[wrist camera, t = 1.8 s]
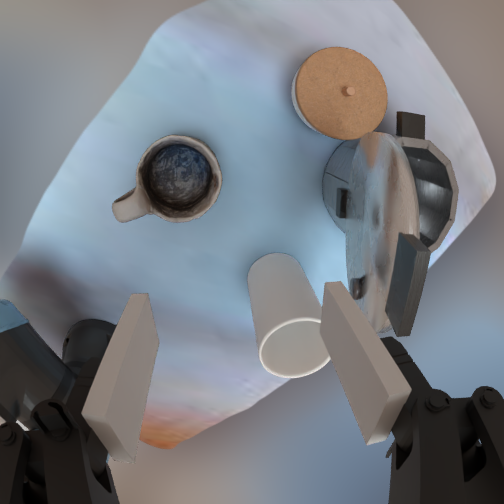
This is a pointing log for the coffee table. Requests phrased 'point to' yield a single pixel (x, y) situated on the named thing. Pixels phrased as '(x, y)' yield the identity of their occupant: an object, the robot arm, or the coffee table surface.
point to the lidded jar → (339, 93)
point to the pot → (424, 173)
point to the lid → (384, 235)
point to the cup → (285, 317)
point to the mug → (172, 182)
